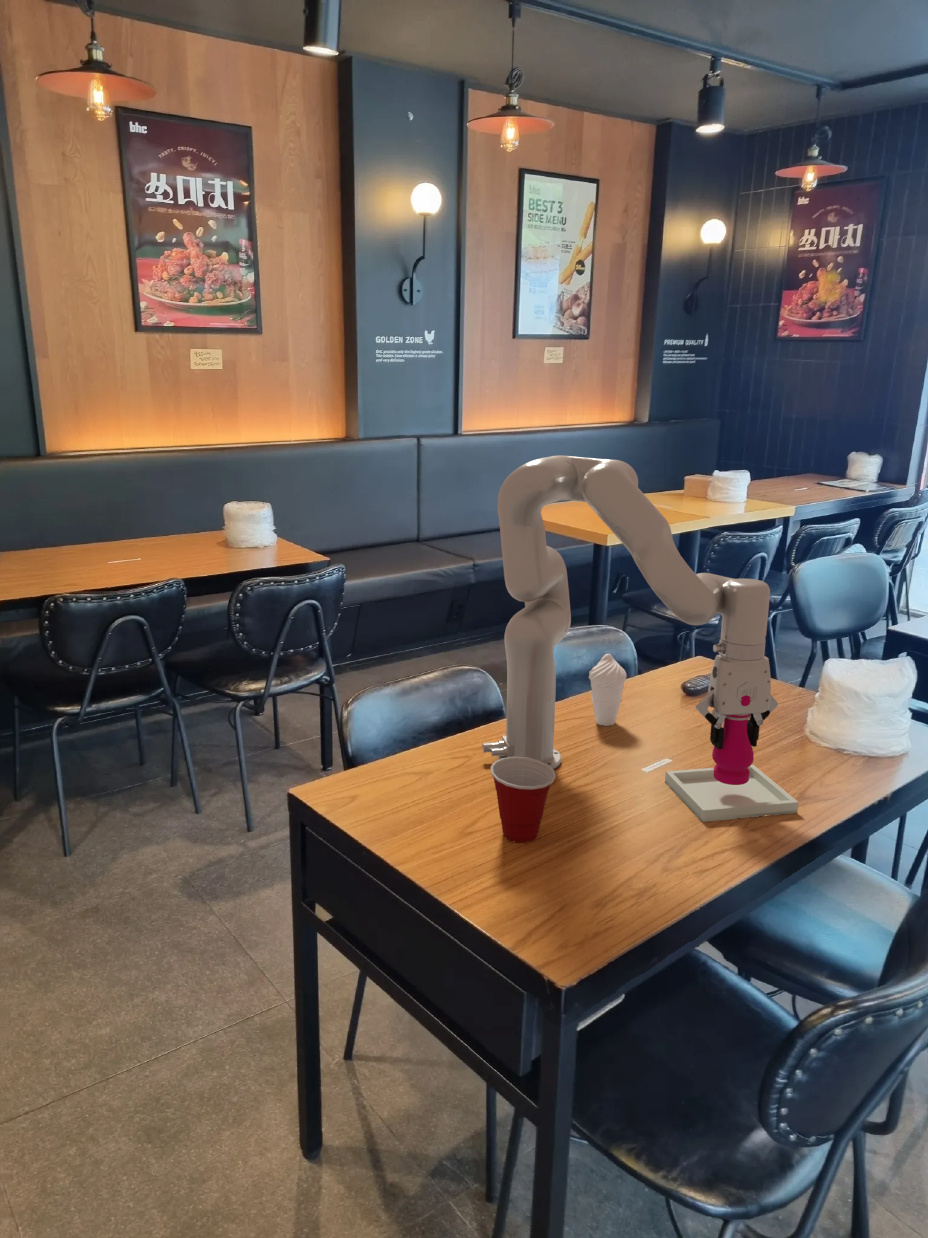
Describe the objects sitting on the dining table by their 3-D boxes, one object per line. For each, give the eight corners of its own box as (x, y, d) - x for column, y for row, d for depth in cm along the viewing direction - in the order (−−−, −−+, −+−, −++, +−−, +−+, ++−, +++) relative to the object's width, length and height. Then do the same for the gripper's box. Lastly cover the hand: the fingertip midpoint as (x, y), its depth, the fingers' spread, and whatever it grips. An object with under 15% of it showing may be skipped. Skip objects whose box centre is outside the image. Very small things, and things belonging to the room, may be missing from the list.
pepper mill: (756, 787, 156) (766, 680, 151) (716, 786, 156) (724, 680, 151) (745, 769, 163) (754, 667, 158) (706, 769, 163) (713, 667, 158)
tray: (702, 822, 151) (703, 810, 151) (665, 782, 167) (665, 771, 166) (797, 813, 155) (798, 802, 154) (752, 775, 170) (753, 764, 169)
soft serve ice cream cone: (626, 730, 192) (630, 660, 188) (588, 729, 192) (592, 660, 188) (620, 716, 200) (624, 649, 196) (584, 715, 200) (587, 648, 196)
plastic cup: (535, 858, 139) (537, 789, 136) (477, 840, 145) (477, 773, 142) (564, 830, 148) (567, 765, 145) (508, 814, 154) (510, 750, 151)
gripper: (705, 658, 148) (698, 757, 153) (798, 653, 151) (788, 750, 156) (686, 646, 155) (680, 740, 160) (776, 641, 158) (766, 734, 163)
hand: (733, 744), depth 158 cm, fingers closed on pepper mill, 5 cm apart
